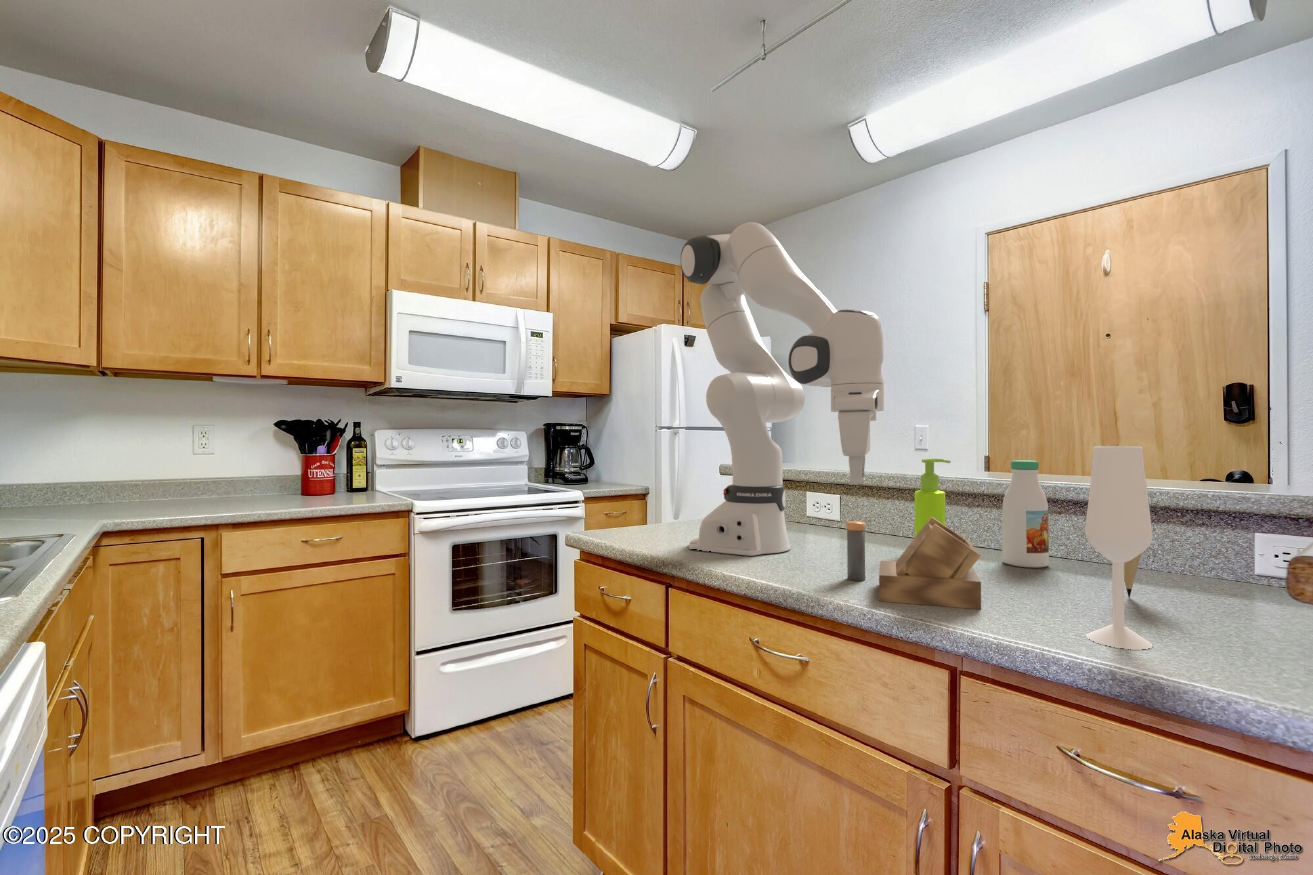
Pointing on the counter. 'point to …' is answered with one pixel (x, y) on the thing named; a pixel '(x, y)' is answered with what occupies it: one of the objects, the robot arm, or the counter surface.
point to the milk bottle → (1025, 518)
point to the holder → (933, 571)
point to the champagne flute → (1118, 529)
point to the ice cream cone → (1130, 572)
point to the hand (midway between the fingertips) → (857, 480)
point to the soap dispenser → (929, 497)
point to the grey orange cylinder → (856, 551)
